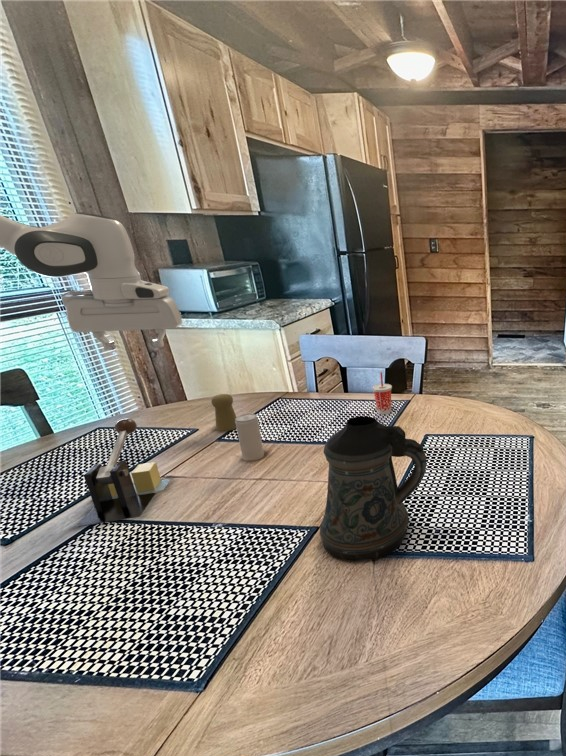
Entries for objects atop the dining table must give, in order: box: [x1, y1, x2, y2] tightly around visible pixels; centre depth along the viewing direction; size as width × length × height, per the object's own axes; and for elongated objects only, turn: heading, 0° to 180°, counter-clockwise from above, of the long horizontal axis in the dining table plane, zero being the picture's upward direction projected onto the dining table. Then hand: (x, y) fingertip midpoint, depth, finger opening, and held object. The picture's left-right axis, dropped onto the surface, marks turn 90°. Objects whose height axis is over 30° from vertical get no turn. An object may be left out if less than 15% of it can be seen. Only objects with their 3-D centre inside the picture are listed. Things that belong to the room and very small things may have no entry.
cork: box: [210, 393, 238, 432], centre depth 123 cm, size 6×6×11 cm
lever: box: [96, 418, 138, 485], centre depth 88 cm, size 16×4×4 cm, turn 21°
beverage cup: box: [372, 371, 393, 415], centre depth 138 cm, size 6×6×14 cm
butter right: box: [130, 461, 162, 493], centre depth 93 cm, size 3×4×5 cm
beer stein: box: [319, 415, 428, 562], centre depth 79 cm, size 16×19×25 cm
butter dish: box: [112, 478, 171, 499], centre depth 93 cm, size 12×5×1 cm, turn 112°
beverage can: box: [235, 413, 265, 462], centre depth 107 cm, size 5×5×12 cm
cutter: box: [76, 460, 158, 528], centre depth 85 cm, size 9×10×11 cm
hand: (135, 348), depth 100 cm, fingers open, 8 cm apart
